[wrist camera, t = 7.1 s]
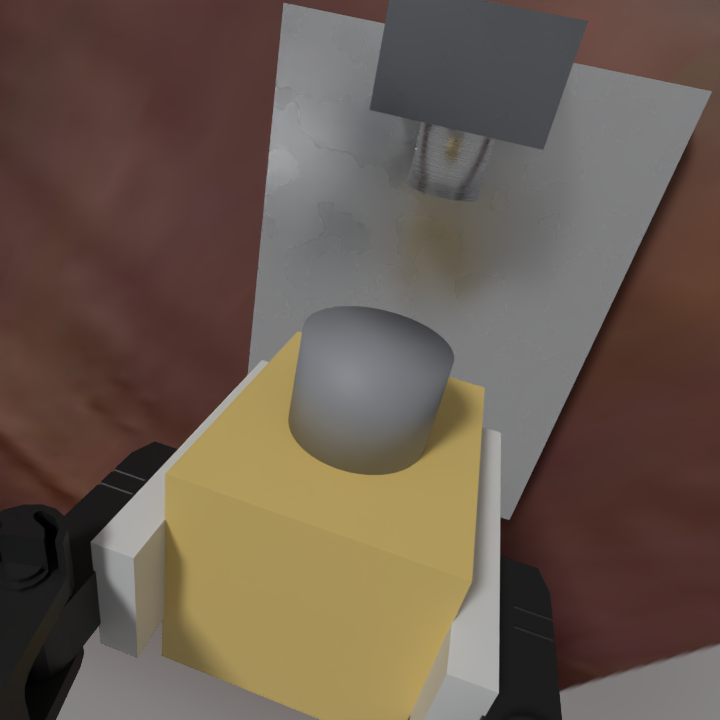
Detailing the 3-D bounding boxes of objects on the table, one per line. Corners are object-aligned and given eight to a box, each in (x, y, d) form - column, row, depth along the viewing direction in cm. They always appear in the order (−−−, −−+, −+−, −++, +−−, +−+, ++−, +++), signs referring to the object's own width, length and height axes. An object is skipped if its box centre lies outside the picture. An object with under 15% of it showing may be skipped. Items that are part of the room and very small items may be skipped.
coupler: (309, 258, 12) (166, 367, 7) (511, 315, 12) (519, 480, 6) (268, 519, 17) (160, 707, 11) (415, 571, 16) (372, 795, 11)
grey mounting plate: (505, 500, 28) (507, 613, 22) (256, 421, 30) (192, 504, 24) (699, 76, 18) (803, 63, 12) (303, -4, 20) (214, -53, 14)
